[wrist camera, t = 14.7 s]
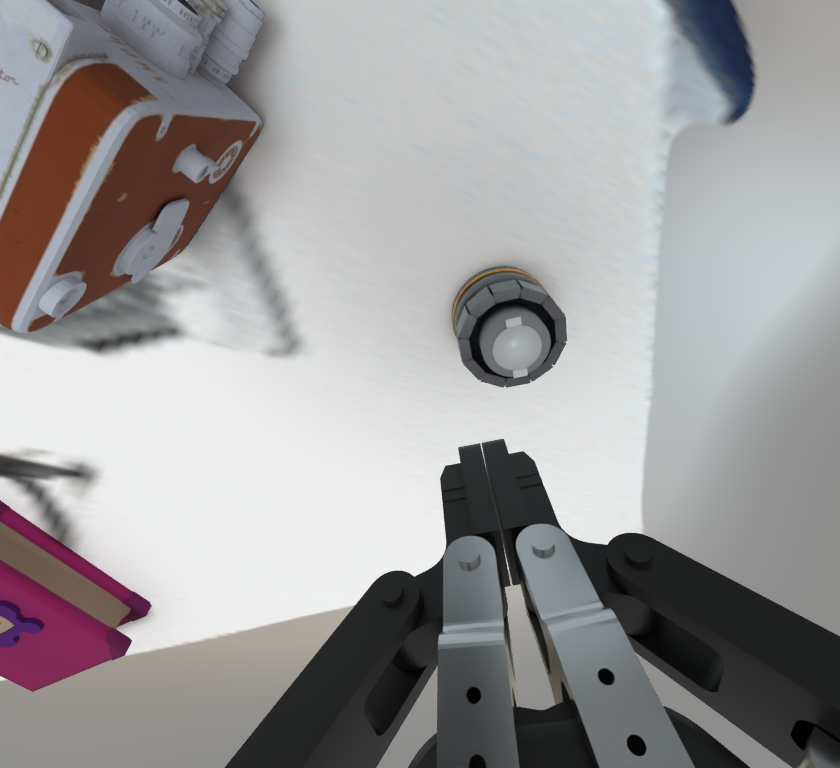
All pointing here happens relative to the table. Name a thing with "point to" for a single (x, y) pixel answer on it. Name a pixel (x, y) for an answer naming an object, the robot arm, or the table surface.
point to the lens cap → (513, 339)
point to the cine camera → (112, 141)
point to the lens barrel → (494, 290)
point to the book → (56, 608)
